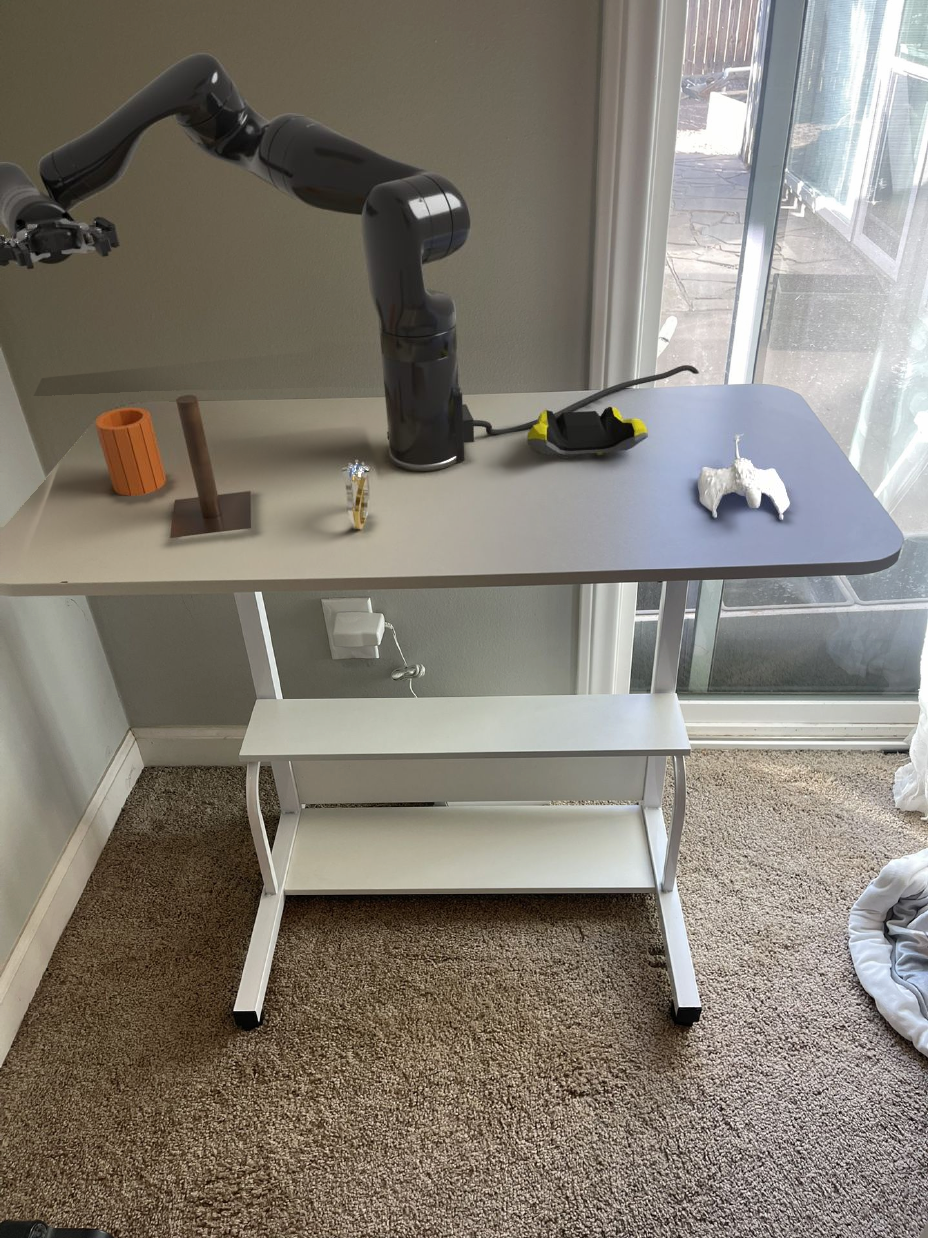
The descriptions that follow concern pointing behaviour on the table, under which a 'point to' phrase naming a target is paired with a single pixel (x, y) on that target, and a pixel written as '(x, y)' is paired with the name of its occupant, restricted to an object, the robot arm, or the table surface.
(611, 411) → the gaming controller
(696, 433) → the table surface
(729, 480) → the white dragon
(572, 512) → the table surface
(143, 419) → the orange stave barrel
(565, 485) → the table surface
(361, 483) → the ring
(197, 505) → the brown peg stand
